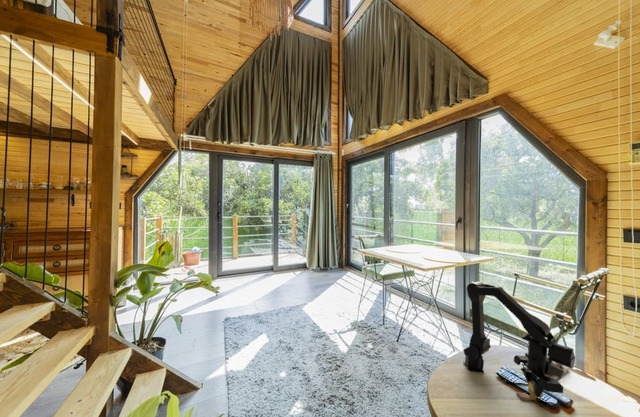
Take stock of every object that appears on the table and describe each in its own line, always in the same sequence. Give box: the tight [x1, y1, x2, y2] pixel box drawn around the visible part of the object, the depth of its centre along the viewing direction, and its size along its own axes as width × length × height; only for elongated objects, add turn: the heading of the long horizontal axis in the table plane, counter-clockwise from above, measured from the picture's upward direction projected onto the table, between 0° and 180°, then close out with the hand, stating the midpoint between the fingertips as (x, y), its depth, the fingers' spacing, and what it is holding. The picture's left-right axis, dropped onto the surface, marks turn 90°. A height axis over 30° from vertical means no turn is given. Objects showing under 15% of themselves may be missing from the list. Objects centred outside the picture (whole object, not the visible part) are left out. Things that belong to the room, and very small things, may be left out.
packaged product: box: [545, 355, 570, 381], centre depth 122 cm, size 18×5×10 cm
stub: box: [515, 381, 544, 401], centre depth 103 cm, size 12×3×6 cm, turn 84°
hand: (535, 393), depth 103 cm, fingers closed on stub, 2 cm apart
